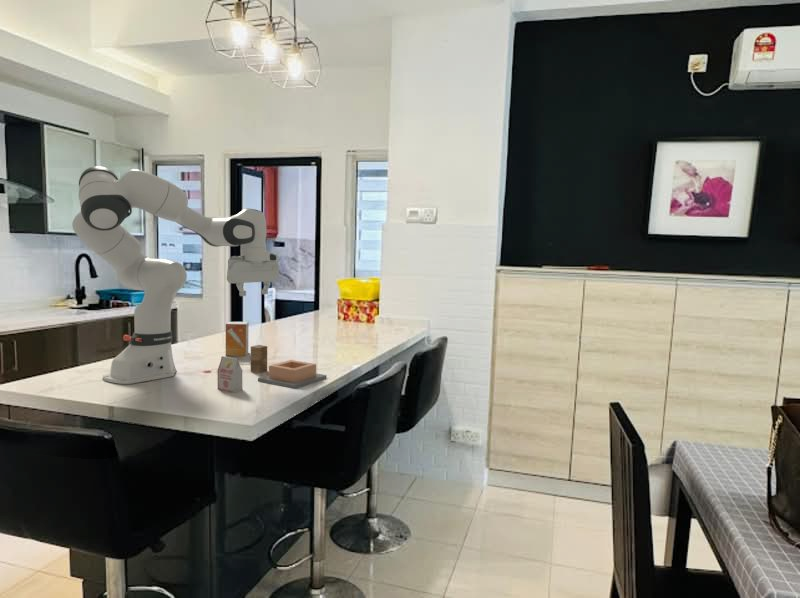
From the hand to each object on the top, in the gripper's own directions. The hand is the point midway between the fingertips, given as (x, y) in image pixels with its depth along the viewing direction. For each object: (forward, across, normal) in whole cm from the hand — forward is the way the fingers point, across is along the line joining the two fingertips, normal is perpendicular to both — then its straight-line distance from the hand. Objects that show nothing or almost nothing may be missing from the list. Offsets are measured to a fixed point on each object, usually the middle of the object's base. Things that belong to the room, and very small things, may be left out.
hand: (253, 295), depth 185 cm
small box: (+27, +11, +25) cm, 39 cm away
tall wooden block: (+27, -1, -4) cm, 27 cm away
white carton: (+27, -21, -16) cm, 38 cm away
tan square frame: (+27, 0, -21) cm, 34 cm away
